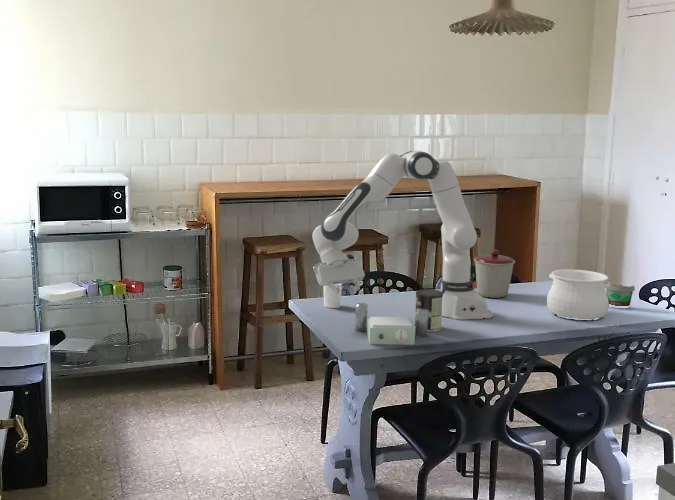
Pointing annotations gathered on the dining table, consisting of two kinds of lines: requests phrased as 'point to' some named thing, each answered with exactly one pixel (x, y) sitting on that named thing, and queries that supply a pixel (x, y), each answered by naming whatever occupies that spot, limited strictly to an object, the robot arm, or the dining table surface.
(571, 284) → the pot
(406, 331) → the scale
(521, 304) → the dining table surface
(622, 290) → the food container
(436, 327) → the coffee can
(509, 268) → the canister
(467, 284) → the robot arm
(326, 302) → the white cup
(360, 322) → the cylinder
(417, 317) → the spacer
